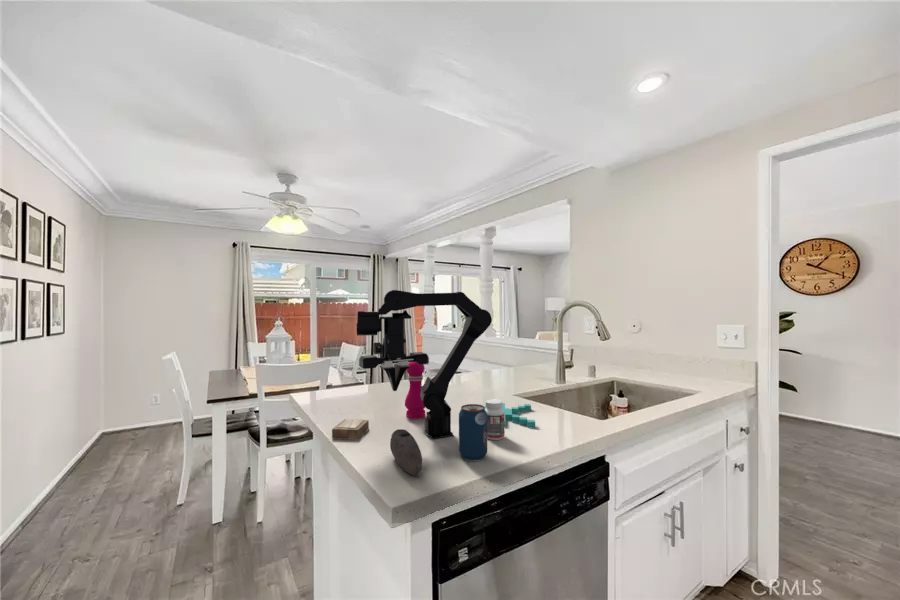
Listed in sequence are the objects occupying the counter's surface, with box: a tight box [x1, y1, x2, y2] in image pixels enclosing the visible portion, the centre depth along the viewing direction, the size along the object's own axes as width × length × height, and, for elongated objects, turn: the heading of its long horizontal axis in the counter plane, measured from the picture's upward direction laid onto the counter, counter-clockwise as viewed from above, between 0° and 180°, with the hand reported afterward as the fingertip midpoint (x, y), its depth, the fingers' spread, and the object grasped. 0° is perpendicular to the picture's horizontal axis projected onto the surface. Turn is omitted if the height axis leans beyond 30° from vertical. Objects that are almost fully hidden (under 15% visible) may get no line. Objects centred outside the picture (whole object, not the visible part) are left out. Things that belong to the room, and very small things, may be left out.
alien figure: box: [483, 402, 536, 429], centre depth 125 cm, size 20×2×20 cm
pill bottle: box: [485, 398, 506, 441], centre depth 106 cm, size 6×6×10 cm
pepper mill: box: [404, 362, 426, 420], centre depth 126 cm, size 7×7×20 cm
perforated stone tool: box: [390, 428, 423, 477], centre depth 87 cm, size 15×5×7 cm, turn 22°
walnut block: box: [331, 418, 370, 440], centre depth 110 cm, size 3×9×8 cm
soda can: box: [458, 403, 488, 462], centre depth 93 cm, size 7×7×12 cm
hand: (394, 390), depth 107 cm, fingers closed
